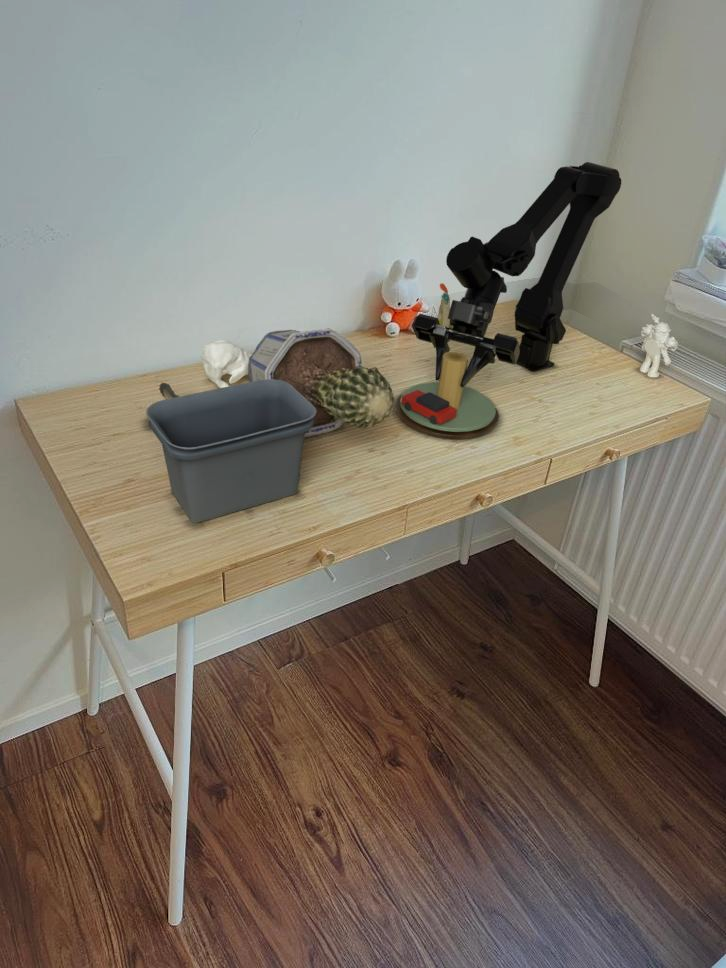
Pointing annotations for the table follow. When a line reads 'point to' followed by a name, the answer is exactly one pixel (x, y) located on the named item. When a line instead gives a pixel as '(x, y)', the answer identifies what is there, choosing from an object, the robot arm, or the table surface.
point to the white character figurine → (656, 346)
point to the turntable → (448, 400)
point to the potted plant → (324, 377)
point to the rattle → (444, 308)
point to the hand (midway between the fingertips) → (449, 383)
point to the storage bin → (232, 445)
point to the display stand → (444, 434)
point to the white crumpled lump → (224, 361)
